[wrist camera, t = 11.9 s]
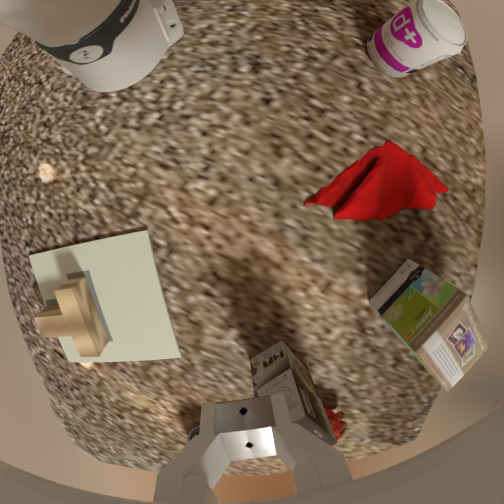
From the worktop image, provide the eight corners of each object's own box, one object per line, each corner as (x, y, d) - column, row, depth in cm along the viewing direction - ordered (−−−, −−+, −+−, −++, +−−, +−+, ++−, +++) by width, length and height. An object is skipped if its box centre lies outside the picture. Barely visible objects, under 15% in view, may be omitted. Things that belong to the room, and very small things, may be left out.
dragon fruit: (340, 408, 50) (283, 405, 50) (356, 401, 43) (291, 398, 44) (338, 447, 44) (279, 445, 45) (354, 445, 38) (286, 445, 38)
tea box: (365, 302, 42) (414, 353, 27) (407, 256, 40) (469, 290, 26) (405, 347, 45) (448, 394, 31) (441, 308, 44) (491, 346, 30)
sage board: (30, 254, 35) (29, 255, 35) (148, 229, 36) (147, 230, 36) (70, 360, 41) (69, 362, 40) (181, 355, 42) (181, 357, 41)
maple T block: (40, 284, 36) (25, 295, 32) (85, 276, 37) (71, 288, 32) (63, 343, 39) (51, 357, 35) (108, 341, 40) (99, 356, 35)
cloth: (449, 158, 37) (458, 158, 35) (441, 238, 41) (449, 241, 39) (306, 125, 35) (310, 122, 33) (298, 225, 38) (302, 229, 36)
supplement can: (369, 74, 33) (429, 39, 18) (360, 29, 30) (410, -16, 16) (413, 82, 33) (477, 59, 19) (403, 39, 31) (459, 6, 16)
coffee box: (247, 359, 43) (257, 439, 27) (282, 338, 42) (306, 414, 27) (279, 391, 45) (296, 464, 29) (310, 372, 44) (339, 443, 29)
